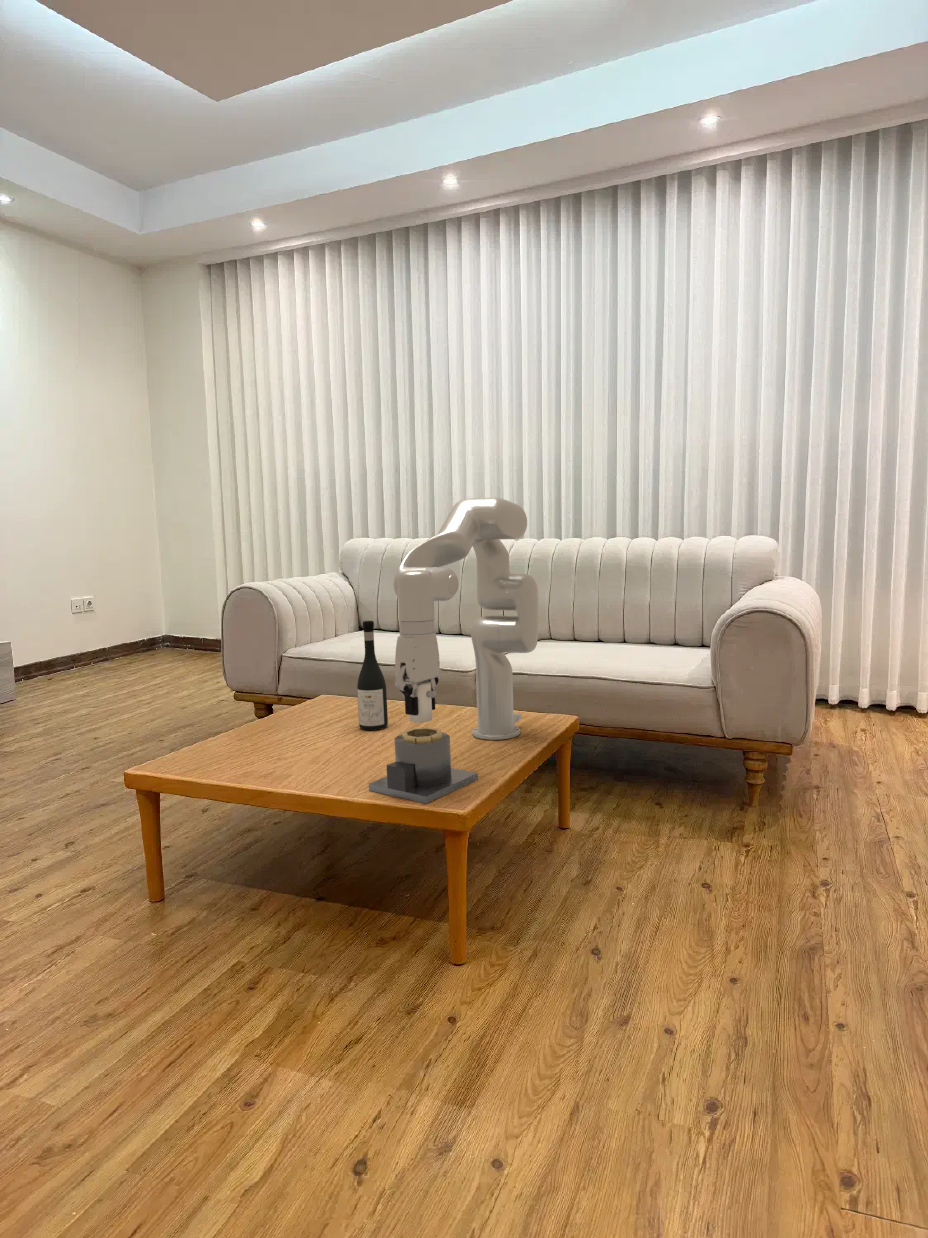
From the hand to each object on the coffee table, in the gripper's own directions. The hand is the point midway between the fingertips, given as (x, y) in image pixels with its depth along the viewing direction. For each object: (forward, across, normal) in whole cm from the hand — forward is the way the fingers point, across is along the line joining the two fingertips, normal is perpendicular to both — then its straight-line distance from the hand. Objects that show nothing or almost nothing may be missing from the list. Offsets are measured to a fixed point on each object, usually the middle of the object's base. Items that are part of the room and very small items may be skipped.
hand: (420, 711), depth 180 cm
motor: (+17, 0, 0) cm, 17 cm away
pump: (+2, 0, 0) cm, 2 cm away
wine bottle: (+16, -31, -44) cm, 57 cm away
